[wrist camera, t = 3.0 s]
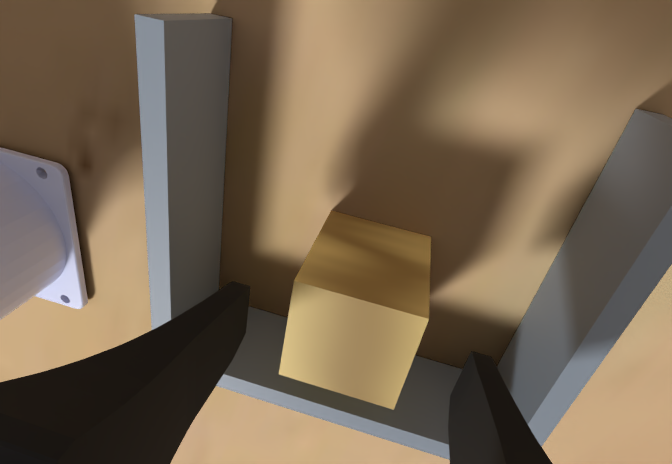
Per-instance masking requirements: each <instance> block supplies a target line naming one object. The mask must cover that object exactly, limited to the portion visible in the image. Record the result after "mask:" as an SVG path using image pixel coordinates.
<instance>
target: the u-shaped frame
mask: <svg viewBox="0 0 672 464" xmlns="http://www.w3.org/2000/svg"><path fill="white" fill-rule="evenodd" d="M134 16H135V34H136V52H137V70H138V88H139V106H140V124H141V142H142V160H143V178H144V196H145V214H146V233H147V251H148V269H149V287H150V305H151V323H152V330H153V329H155V328H157V327H159V326H161V325H163V324H164V323H166V322H168V321H170V320H172V319H173V318H175V317H177V316H179V315H180V314H182V313H184V312H185V311H187V310H189V309H190V308H192V307H193V306H195V305H197V304H198V303H200V302H201V301H203V300H205V299H206V298H208V297H209V296H211V295H212V294H214V293H215V292H217V291H218V290H219V274H220V254H221V234H222V214H223V194H224V174H225V155H226V135H227V115H228V95H229V75H230V55H231V35H232V18H228V17H224V16H219V15H215V14H210V13H204V14H134ZM671 264H672V118H670V117H667V116H665V115H663V114H658V113H654V112H649V111H645V110H640V109H635V111H634V113H633V115H632V117H631V118H630V120H629V122H628V124H627V126H626V128H625V130H624V131H623V133H622V135H621V137H620V139H619V141H618V143H617V144H616V146H615V148H614V150H613V152H612V154H611V156H610V157H609V159H608V161H607V163H606V165H605V167H604V169H603V170H602V172H601V174H600V176H599V178H598V180H597V182H596V183H595V185H594V187H593V189H592V191H591V193H590V195H589V196H588V198H587V200H586V202H585V204H584V206H583V208H582V209H581V211H580V213H579V215H578V217H577V219H576V221H575V222H574V224H573V226H572V228H571V230H570V232H569V234H568V236H567V237H566V239H565V241H564V243H563V245H562V247H561V249H560V250H559V252H558V254H557V256H556V258H555V260H554V262H553V263H552V265H551V267H550V269H549V271H548V273H547V275H546V276H545V278H544V280H543V282H542V284H541V286H540V288H539V289H538V291H537V293H536V295H535V297H534V299H533V301H532V302H531V304H530V306H529V308H528V310H527V312H526V314H525V315H524V317H523V319H522V321H521V323H520V325H519V327H518V328H517V330H516V332H515V334H514V336H513V338H512V340H511V341H510V343H509V345H508V347H507V349H506V351H505V353H504V354H503V356H502V358H501V360H500V362H499V364H498V366H497V369H498V370H499V372H500V374H501V376H502V378H503V380H504V382H505V384H506V386H507V388H508V390H509V392H510V394H511V396H512V397H513V399H514V401H515V403H516V405H517V407H518V408H519V410H520V412H521V414H522V415H523V417H524V419H525V421H526V422H527V424H528V426H529V428H530V429H531V431H532V433H533V434H534V436H535V438H536V439H537V441H538V442H539V444H540V446H542V445H543V444H544V442H545V441H546V439H547V438H548V437H549V435H550V434H551V432H552V431H553V430H554V428H555V427H556V425H557V424H558V423H559V421H560V420H561V418H562V417H563V416H564V414H565V413H566V411H567V410H568V409H569V407H570V406H571V404H572V403H573V402H574V400H575V399H576V397H577V396H578V395H579V393H580V392H581V390H582V389H583V388H584V386H585V385H586V383H587V382H588V381H589V379H590V378H591V376H592V375H593V374H594V372H595V371H596V369H597V368H598V367H599V365H600V364H601V362H602V361H603V360H604V358H605V357H606V355H607V354H608V353H609V351H610V350H611V348H612V347H613V346H614V344H615V343H616V341H617V340H618V339H619V337H620V336H621V334H622V333H623V332H624V330H625V329H626V327H627V326H628V325H629V323H630V322H631V320H632V319H633V318H634V316H635V315H636V313H637V312H638V310H639V309H640V308H641V306H642V305H643V303H644V302H645V301H646V299H647V298H648V296H649V295H650V294H651V292H652V291H653V289H654V288H655V287H656V285H657V284H658V282H659V281H660V280H661V278H662V277H663V275H664V274H665V273H666V271H667V270H668V268H669V267H670V266H671ZM287 320H288V318H287V317H283V316H280V315H277V314H273V313H270V312H266V311H263V310H260V309H256V308H253V307H250V306H248V316H247V327H246V334H245V336H244V338H243V340H242V342H241V344H240V346H239V348H238V350H237V352H236V354H235V356H234V358H233V360H232V362H231V363H230V365H229V366H228V368H227V369H226V371H225V373H224V374H223V376H222V377H221V379H220V380H219V382H218V383H217V385H216V386H218V387H222V388H225V389H228V390H231V391H234V392H237V393H240V394H244V395H247V396H250V397H253V398H256V399H259V400H263V401H266V402H269V403H272V404H275V405H278V406H282V407H285V408H288V409H291V410H294V411H297V412H300V413H304V414H307V415H310V416H313V417H316V418H319V419H323V420H326V421H329V422H332V423H335V424H338V425H342V426H345V427H348V428H351V429H354V430H357V431H360V432H364V433H367V434H370V435H373V436H376V437H379V438H383V439H386V440H389V441H392V442H395V443H398V444H401V445H405V446H408V447H411V448H414V449H417V450H420V451H424V452H427V453H430V454H433V455H436V456H439V457H443V458H446V459H449V460H450V455H449V437H448V420H449V405H450V395H451V393H452V391H453V388H454V386H455V384H456V382H457V380H458V378H459V376H460V374H461V372H462V370H463V369H460V368H457V367H453V366H450V365H447V364H443V363H440V362H436V361H433V360H430V359H426V358H423V357H419V356H416V355H415V356H414V359H413V362H412V364H411V367H410V369H409V372H408V374H407V377H406V379H405V382H404V385H403V387H402V390H401V392H400V395H399V397H398V400H397V403H396V405H395V408H394V410H393V409H389V408H386V407H383V406H380V405H376V404H373V403H370V402H367V401H364V400H360V399H357V398H354V397H351V396H347V395H344V394H341V393H338V392H334V391H331V390H328V389H325V388H321V387H318V386H315V385H312V384H308V383H305V382H302V381H299V380H295V379H292V378H289V377H286V376H283V375H279V369H280V363H281V357H282V351H283V344H284V338H285V332H286V326H287Z"/></svg>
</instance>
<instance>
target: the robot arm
mask: <svg viewBox="0 0 672 464" xmlns="http://www.w3.org/2000/svg"><path fill="white" fill-rule="evenodd" d="M44 170H45V171H46V172H45V171H44ZM34 296H36V297H40V298H43V299H46V300H49V301H53V302H56V303H59V304H62V305H66V306H69V307H72V308H75V309H81V308H83V307H84V306H85V305H86V304H87V303H88V298H87V292H86V285H85V279H84V272H83V266H82V259H81V252H80V246H79V239H78V233H77V226H76V220H75V213H74V206H73V200H72V193H71V187H70V180H69V175H68V172H67V170H66V169H65V168H64V167H63V166H62V165H61V164H59V163H57V162H53V161H49V160H46V159H42V158H38V157H35V156H31V155H27V154H23V153H20V152H16V151H12V150H9V149H5V148H1V147H0V320H1V319H2V318H4V317H5V316H7V315H8V314H10V313H11V312H12V311H14V310H15V309H17V308H18V307H19V306H21V305H22V304H24V303H25V302H27V301H28V300H29V299H31V298H32V297H34ZM249 296H250V286H247V285H244V284H240V283H237V282H234V281H233V282H231V283H229V284H227V285H226V286H224V287H223V288H221V289H220V290H218V291H217V292H215V293H214V294H212V295H211V296H209V297H208V298H206V299H205V300H203V301H201V302H200V303H198V304H197V305H195V306H193V307H192V308H190V309H189V310H187V311H185V312H184V313H182V314H180V315H179V316H177V317H175V318H173V319H172V320H170V321H168V322H166V323H164V324H163V325H161V326H159V327H157V328H155V329H153V330H151V331H149V332H147V333H145V334H143V335H141V336H139V337H137V338H135V339H133V340H131V341H129V342H126V343H124V344H122V345H120V346H117V347H115V348H112V349H109V350H107V351H104V352H101V353H99V354H96V355H94V356H91V357H88V358H86V359H83V360H80V361H77V362H74V363H71V364H68V365H64V366H61V367H58V368H54V369H51V370H48V371H44V372H41V373H37V374H33V375H29V376H25V377H21V378H17V379H12V380H8V381H4V382H0V464H170V463H171V461H172V459H173V457H174V455H175V453H176V451H177V449H178V447H179V445H180V443H181V442H182V440H183V438H184V436H185V434H186V432H187V430H188V429H189V427H190V425H191V424H192V422H193V420H194V419H195V417H196V415H197V414H198V412H199V411H200V409H201V408H202V406H203V405H204V403H205V402H206V400H207V399H208V397H209V396H210V394H211V393H212V391H213V389H214V388H215V386H216V385H217V383H218V382H219V380H220V379H221V377H222V376H223V374H224V373H225V371H226V369H227V368H228V366H229V365H230V363H231V362H232V360H233V358H234V356H235V354H236V352H237V350H238V348H239V346H240V344H241V342H242V340H243V338H244V336H245V334H246V327H247V316H248V306H249ZM448 437H449V455H450V464H552V462H551V461H550V459H549V458H548V456H547V455H546V453H545V452H544V450H543V449H542V447H541V446H540V444H539V442H538V441H537V439H536V438H535V436H534V434H533V433H532V431H531V429H530V428H529V426H528V424H527V422H526V421H525V419H524V417H523V415H522V414H521V412H520V410H519V408H518V407H517V405H516V403H515V401H514V399H513V397H512V396H511V394H510V392H509V390H508V388H507V386H506V384H505V382H504V380H503V378H502V376H501V374H500V372H499V370H498V369H497V367H496V365H495V363H494V361H493V359H492V357H490V356H486V355H483V354H479V353H476V352H472V351H471V353H470V355H469V357H468V359H467V361H466V364H465V366H464V368H463V370H462V372H461V374H460V376H459V378H458V380H457V382H456V384H455V386H454V388H453V391H452V393H451V395H450V405H449V420H448Z"/></svg>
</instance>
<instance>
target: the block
mask: <svg viewBox="0 0 672 464" xmlns="http://www.w3.org/2000/svg"><path fill="white" fill-rule="evenodd" d="M430 261H431V237H430V236H426V235H422V234H418V233H415V232H411V231H407V230H403V229H399V228H396V227H392V226H388V225H384V224H381V223H377V222H373V221H369V220H366V219H362V218H358V217H354V216H351V215H347V214H343V213H339V212H336V211H332V210H331V212H330V214H329V216H328V218H327V220H326V221H325V223H324V225H323V227H322V229H321V231H320V233H319V235H318V236H317V238H316V240H315V242H314V244H313V246H312V248H311V250H310V252H309V253H308V255H307V257H306V259H305V261H304V263H303V265H302V267H301V268H300V270H299V272H298V274H297V276H296V278H295V280H294V284H293V290H292V296H291V302H290V308H289V314H288V320H287V326H286V332H285V338H284V344H283V351H282V357H281V363H280V369H279V375H283V376H286V377H289V378H292V379H295V380H299V381H302V382H305V383H308V384H312V385H315V386H318V387H321V388H325V389H328V390H331V391H334V392H338V393H341V394H344V395H347V396H351V397H354V398H357V399H360V400H364V401H367V402H370V403H373V404H376V405H380V406H383V407H386V408H389V409H393V410H394V408H395V405H396V403H397V400H398V397H399V395H400V392H401V390H402V387H403V385H404V382H405V379H406V377H407V374H408V372H409V369H410V367H411V364H412V362H413V359H414V356H415V354H416V351H417V349H418V346H419V344H420V341H421V338H422V336H423V333H424V331H425V328H426V326H427V323H428V321H429V301H430Z"/></svg>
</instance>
